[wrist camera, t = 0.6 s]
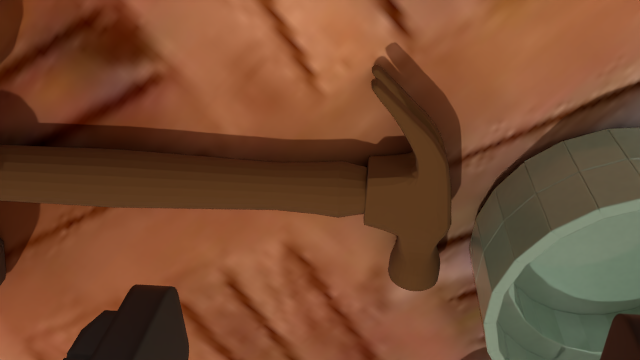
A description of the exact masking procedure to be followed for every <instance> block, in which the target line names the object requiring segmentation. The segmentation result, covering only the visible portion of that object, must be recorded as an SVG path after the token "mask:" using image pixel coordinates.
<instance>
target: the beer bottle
mask: <svg viewBox="0 0 640 360" xmlns="http://www.w3.org/2000/svg"><path fill="white" fill-rule="evenodd" d="M5 277H6V267H5V255H4V243H3V240H2V239H1V238H0V285H1V284H2V282H3V281H4V280H5Z"/></svg>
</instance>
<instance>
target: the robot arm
mask: <svg viewBox="0 0 640 360" xmlns="http://www.w3.org/2000/svg"><path fill="white" fill-rule="evenodd" d="M188 357H189V343H188V338H187V333H186V328H185V324H184V319H183V314H182V310H181V305H180V300H179V296H178V292H177V290H176V288H175V287H172V286H154V285H134V286H133V287H132V288H131V289H130V290H129V292H128V294H127V295H126V297H125V299H124V300H123V302H122V304H121V306H120V307H119V309H118V311H108V310H105V311H103V312H102V313H101V314H100V315H99V316H98V317H96V318H95V319H94V320H93V321H92V322H90V323H89V324H88V325H87V326H86V327H85V328H83V329H82V330H81V332H80V334H79V335H78V337H77V338H76V340H75V342H74V343H73V345H72V346H71V348H70V349H69V351H68V353H67V358H64V359H63V360H188ZM600 360H640V315H638V314H621V313H620V314H617V315H616V316H615V317H614V318H613V321H612V324H611V327H610V330H609V333H608V336H607V339H606V342H605V345H604V348H603V351H602V354H601V358H600Z"/></svg>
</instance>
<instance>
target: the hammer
mask: <svg viewBox="0 0 640 360" xmlns="http://www.w3.org/2000/svg"><path fill="white" fill-rule="evenodd" d="M372 72H373V74H374V76H375V78H376V79H373V80H372V89H373V91H374V92H375V94H376V95H377V97H378V98H379V99H380V101H381V102H382V103H383V104H384V106H385V107H386V108H387V109H388V110H389V112H390V113H391V114H392V116H393V117H394V119H395V120H396V122H397V123H398V125H399V126H400V128H401V129H402V131H403V133H404V134H405V136H406V138H407V140H408V142H409V143H410V145H411V147H412V149H413V151H412V152H411V153H407V154H400V155H388V156H372V157H369V160H368V165H367V167H363V166H360V165H356V164H352V163H347V162H343V161H330V162H268V161H255V160H243V159H231V158H219V157H207V156H194V155H182V154H170V153H158V152H145V151H133V150H121V149H97V148H71V147H45V146H20V145H0V201H14V202H31V203H48V204H65V205H82V206H99V207H121V208H187V209H252V210H281V211H291V212H301V213H311V214H319V215H325V216H332V217H345V216H352V215H358V214H364V225H367V226H371V227H374V228H378V229H381V230H384V231H388V232H391V233H393V234H395V235H397V236H398V239H397V242H396V243H395V245H394V247H393V250H392V252H391V255H390V260H389V268H388V272H389V276H390V278H391V280H392V281H393V282H394V283H395V284H396V285H398V286H399V287H401V288H403V289H406V290H410V291H423V290H427V289H429V288H431V287H433V286H434V285H435V284H436V282H437V280H438V275H439V269H440V257H439V252H438V249H437V246H436V245H437V243H438V242H439V241H440V240H441V239H442V238H443V237H444V236H445V235H446V233H447V232H448V230H449V228H450V225H451V182H450V171H449V165H448V160H447V156H446V152H445V147H444V143H443V139H442V137H441V135H440V133H439V131H438V130H437V128H436V126H435V125H434V123H433V121H432V120H431V119H430V117H429V116H428V115H427V114H426V113H425V111H424V110H423V109H422V108H421V107H419V106H418V105H417V104H416V103H415V102H414V101H413V100H412V99H411V98H410V96H409V95H408V94H407V93H406V92H405V91H404V90H403V89H402V88H401V87H400V86H399V85H398V84H397V83H396V82H395V81H394V79H393V78H392V77H391V76H390V75H389V74H388V73H387V72H386V71H385V70H384V69H383V68H382V67H381V66H379V65H374V66H373V67H372Z"/></svg>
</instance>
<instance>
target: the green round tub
mask: <svg viewBox="0 0 640 360" xmlns="http://www.w3.org/2000/svg"><path fill="white" fill-rule="evenodd" d="M469 251H470V258H471V265H472V272H473V278H474V284H475V289H476V294H477V300H478V305H479V311H480V316H481V321H482V327H483V332H484V338H485V343H486V348H487V352H488V354H489V356H490V357H491V359H492V360H600V358H601V354H602V351H603V348H604V345H605V342H606V339H607V336H608V333H609V330H610V327H611V324H612V321H613V318H614V317H615V316H616V315H617V314H620V313H621V314H638V315H640V127H637V128H613V129H608V130H607V129H605V130H601V131H597V132H594V133H590V134H587V135H583V136H579V137H576V138H572V139H568V140H565V141H564V142H563V141H561V142H559V143H558V144H556V145H554V146H552V147H550V148H548V149H546V150H545V151H543V152H541V153H539V154H537V155H535V156H533V157H532V158H530V159H528V160H526V161H524V163H522V164H521V165H520V166H519V167H518V168H517V169H516V170H515V171H513V172H512V173H511V174H510V175H509V176H508V177H507V178H506V179H505V180H503V181H502V182H501V183H500V184H499V185H498V186H497V187H496V188H495V189H494V190H493V192H492V193H491V195H490V196H489V198H488V200H487V201H486V203H485V204H484V206H483V208H482V209H481V211H480V212H479V214H478V216H477V218H476V220H475V224H474V228H473V232H472V237H471V241H470V245H469Z"/></svg>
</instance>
